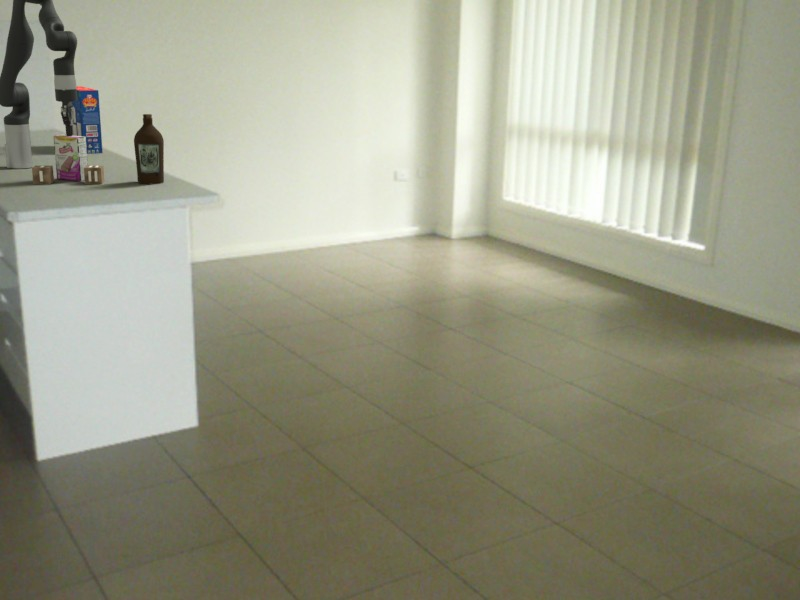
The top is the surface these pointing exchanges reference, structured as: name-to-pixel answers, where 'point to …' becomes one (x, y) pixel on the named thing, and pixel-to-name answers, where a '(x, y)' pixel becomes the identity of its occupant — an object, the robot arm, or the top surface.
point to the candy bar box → (70, 157)
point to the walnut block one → (42, 174)
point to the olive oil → (149, 153)
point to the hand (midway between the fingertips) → (69, 135)
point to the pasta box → (88, 119)
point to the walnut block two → (94, 174)
